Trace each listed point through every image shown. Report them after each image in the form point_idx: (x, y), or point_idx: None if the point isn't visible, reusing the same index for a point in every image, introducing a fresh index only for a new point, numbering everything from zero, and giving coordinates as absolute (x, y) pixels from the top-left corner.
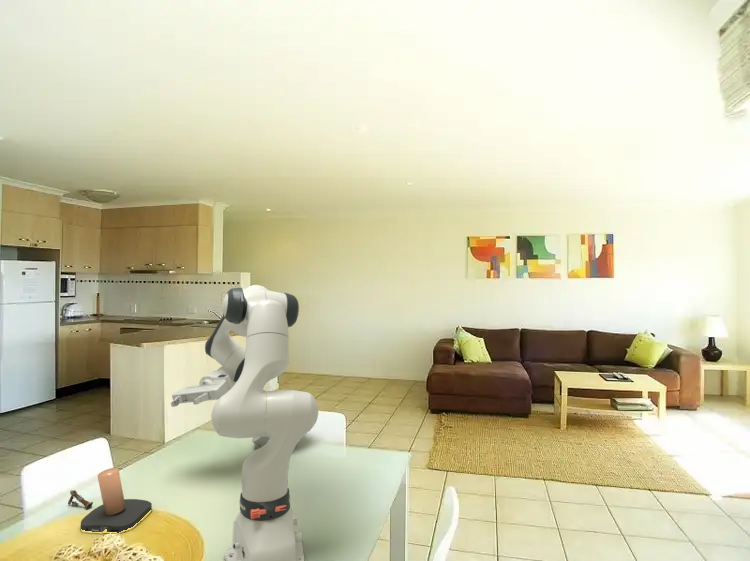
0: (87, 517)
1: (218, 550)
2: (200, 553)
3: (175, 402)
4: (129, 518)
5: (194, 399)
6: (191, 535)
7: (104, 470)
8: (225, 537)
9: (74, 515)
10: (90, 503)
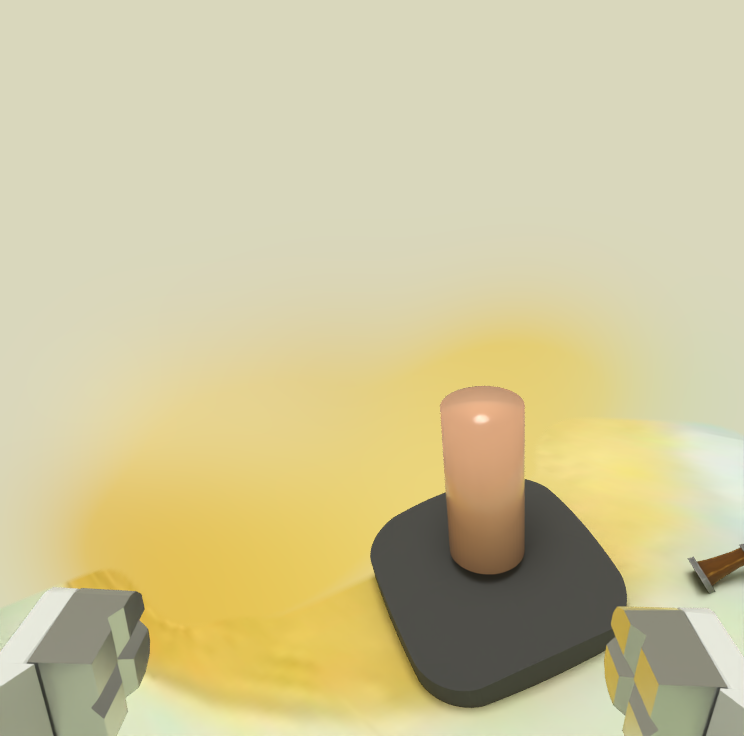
0: (543, 498)
1: (23, 614)
2: (75, 581)
3: (626, 649)
4: (396, 555)
5: (93, 591)
6: None
7: (522, 407)
8: None
9: (672, 530)
10: (695, 569)
